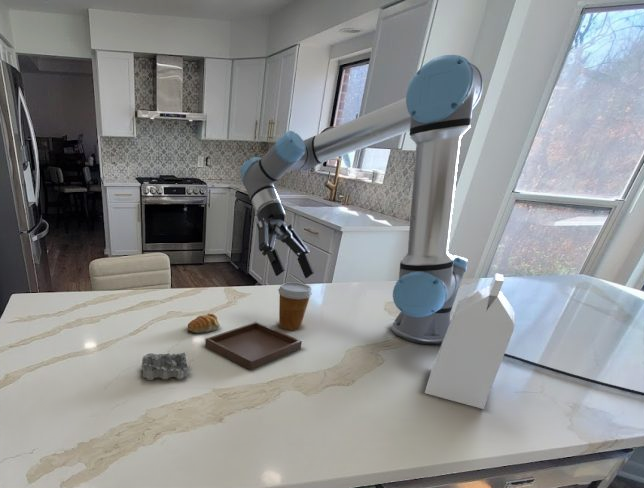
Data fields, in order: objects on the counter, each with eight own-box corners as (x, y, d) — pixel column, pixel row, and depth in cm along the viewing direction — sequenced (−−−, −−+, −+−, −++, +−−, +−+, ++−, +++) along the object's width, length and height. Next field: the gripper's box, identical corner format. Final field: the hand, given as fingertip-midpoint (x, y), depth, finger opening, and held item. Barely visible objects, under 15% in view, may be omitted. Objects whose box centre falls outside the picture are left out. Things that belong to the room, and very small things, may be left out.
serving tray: (300, 348, 115) (302, 340, 114) (250, 370, 104) (251, 361, 102) (254, 329, 125) (255, 321, 124) (205, 346, 114) (205, 338, 113)
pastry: (196, 336, 120) (196, 323, 118) (181, 329, 124) (181, 316, 122) (221, 328, 125) (222, 316, 123) (206, 321, 129) (206, 309, 127)
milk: (483, 409, 91) (536, 290, 78) (424, 393, 96) (464, 279, 83) (484, 385, 100) (532, 275, 87) (430, 371, 105) (468, 266, 92)
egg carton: (141, 380, 98) (140, 365, 96) (142, 365, 104) (142, 350, 102) (187, 380, 99) (188, 364, 96) (186, 365, 105) (186, 350, 103)
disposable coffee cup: (270, 329, 126) (275, 289, 120) (277, 318, 133) (282, 280, 127) (303, 334, 123) (310, 294, 117) (308, 323, 130) (315, 284, 124)
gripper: (285, 223, 134) (310, 283, 130) (230, 212, 118) (256, 279, 114) (304, 207, 128) (330, 269, 124) (248, 193, 112) (277, 263, 108)
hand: (295, 274), depth 119 cm, fingers open, 13 cm apart
